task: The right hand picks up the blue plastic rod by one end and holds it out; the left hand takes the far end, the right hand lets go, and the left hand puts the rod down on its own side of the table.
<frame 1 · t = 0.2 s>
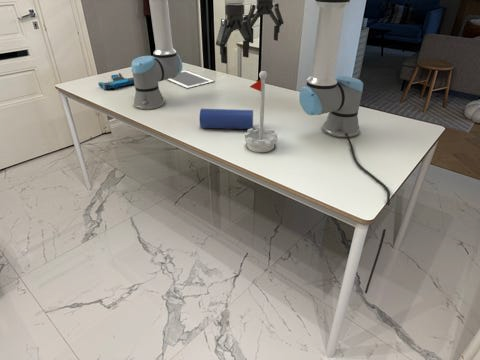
left hand: (235, 60, 144), 28 cm above the table, tool pointing down, fingers open, 13 cm apart
right hand: (263, 41, 166), 30 cm above the table, tool pointing down, fingers open, 13 cm apart
flag stand: (260, 146, 138), on the table
tablet: (186, 79, 214), on the table
submachine gun: (127, 81, 210), on the table
rod: (227, 127, 153), on the table
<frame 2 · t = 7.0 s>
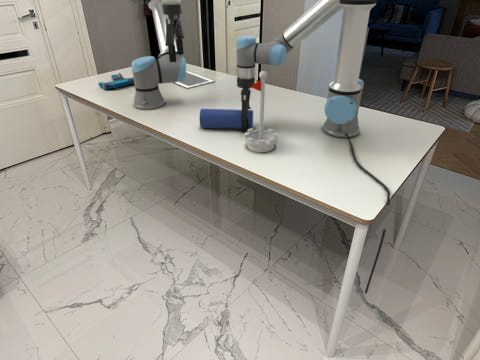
left hand: (177, 57, 148), 28 cm above the table, tool pointing down, fingers open, 13 cm apart
right hand: (245, 127, 152), 0 cm above the table, tool pointing down, fingers closed on rod, 8 cm apart
rod: (227, 127, 153), on the table, touching right hand
everything else where it was.
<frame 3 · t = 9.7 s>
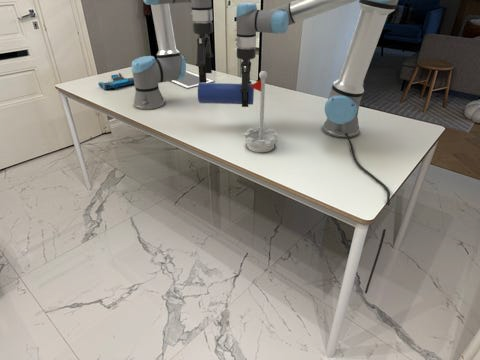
left hand: (205, 77, 141), 22 cm above the table, tool pointing down, fingers open, 13 cm apart
right hand: (245, 102, 146), 12 cm above the table, tool pointing down, fingers closed on rod, 8 cm apart
rod: (226, 103, 146), point 12 cm above the table, touching right hand
everything else where it was.
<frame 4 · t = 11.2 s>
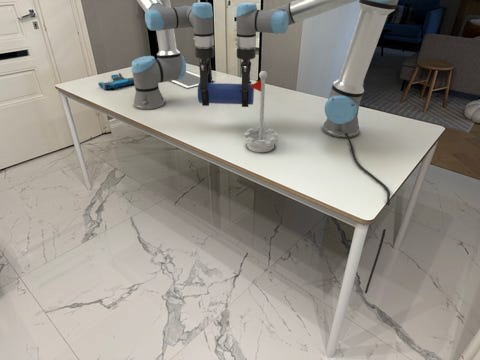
left hand: (207, 101, 147), 12 cm above the table, tool pointing down, fingers closed on rod, 8 cm apart
right hand: (245, 102, 146), 12 cm above the table, tool pointing down, fingers closed on rod, 8 cm apart
rod: (226, 103, 146), point 12 cm above the table, touching right hand, left hand
everything else where it was.
when the right hand's fingers open (12 cm above the table, at t = 12.3 s): rod stays where it is, held by the left hand.
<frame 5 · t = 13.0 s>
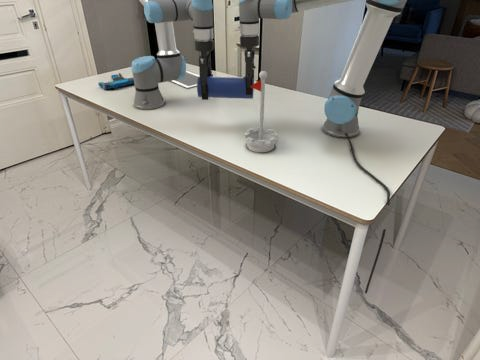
left hand: (206, 95, 145), 15 cm above the table, tool pointing down, fingers closed on rod, 8 cm apart
right hand: (250, 89, 142), 18 cm above the table, tool pointing down, fingers open, 13 cm apart
rod: (226, 97, 145), point 14 cm above the table, touching left hand
everything else where it was.
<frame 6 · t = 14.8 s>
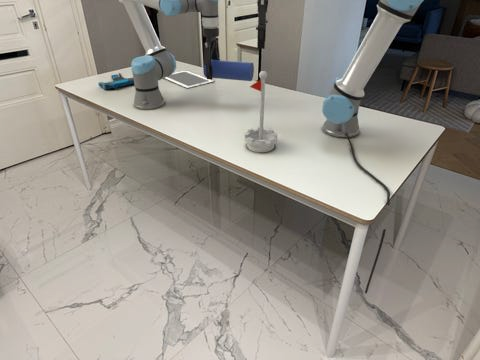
left hand: (212, 76, 168), 15 cm above the table, tool pointing down, fingers closed on rod, 8 cm apart
right hand: (261, 44, 132), 36 cm above the table, tool pointing down, fingers open, 13 cm apart
rod: (228, 79, 166), point 14 cm above the table, touching left hand
everything else where it was.
when the left hand's fingers open (2 cm above the table, at t = 18.3 s): rod stays where it is, on the table.
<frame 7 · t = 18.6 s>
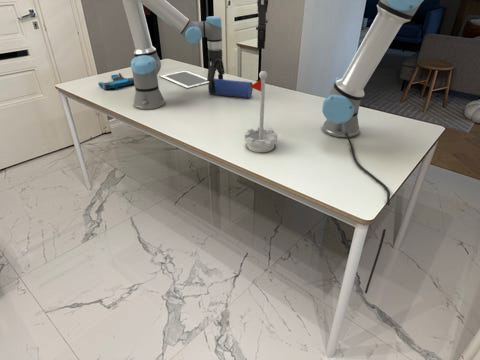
left hand: (216, 89, 190), 3 cm above the table, tool pointing down, fingers open, 12 cm apart
right hand: (261, 44, 132), 36 cm above the table, tool pointing down, fingers open, 13 cm apart
rod: (230, 95, 189), on the table
everything else where it was.
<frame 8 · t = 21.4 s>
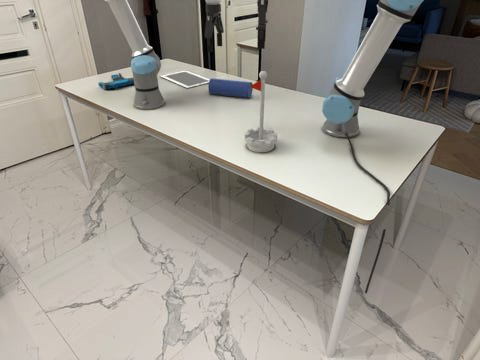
left hand: (215, 48, 178), 24 cm above the table, tool pointing down, fingers open, 13 cm apart
right hand: (261, 44, 132), 36 cm above the table, tool pointing down, fingers open, 13 cm apart
nothing on the table moved.
at the end: rod inside the target area (8.3 cm from its centre), on the table; the left hand is holding nothing; the right hand is holding nothing; rod at rest at the end (0.0 cm/s) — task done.
